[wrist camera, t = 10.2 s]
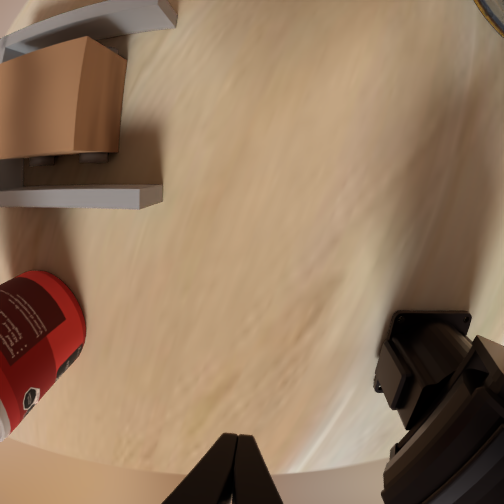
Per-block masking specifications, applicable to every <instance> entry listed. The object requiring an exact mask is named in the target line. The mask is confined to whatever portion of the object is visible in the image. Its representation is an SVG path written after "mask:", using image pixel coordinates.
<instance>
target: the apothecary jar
mask: <svg viewBox="0 0 504 504" xmlns="http://www.w3.org/2000/svg"><path fill="white" fill-rule="evenodd" d="M474 2H475V3H476V5H477V6H478V8H479V9H480V11H481V12H482V14H483V15H484V16H485V18H486V19H487V20H488V21H489V23H490V24H491V25H492V26H493V27H494V28H495V29H496V31H497V32H498V33H499V34H500V35H501V36H502V37H503V38H504V0H474Z"/></svg>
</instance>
